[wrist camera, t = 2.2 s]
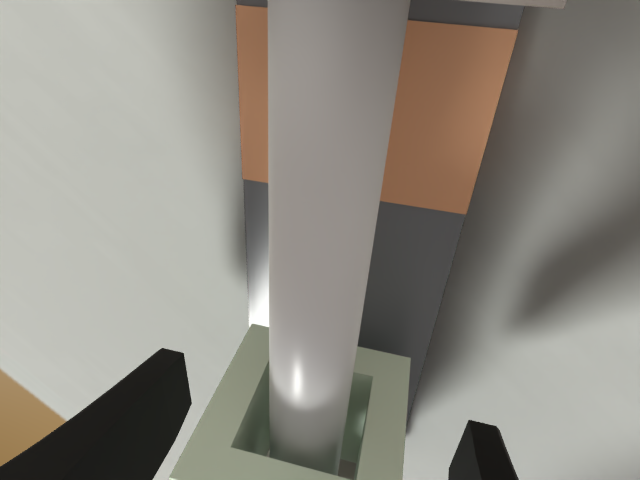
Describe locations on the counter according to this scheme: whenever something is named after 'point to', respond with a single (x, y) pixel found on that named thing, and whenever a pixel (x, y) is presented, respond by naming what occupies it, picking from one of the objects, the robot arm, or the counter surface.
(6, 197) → the counter surface
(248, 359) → the sleeve
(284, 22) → the rod with sliding collar
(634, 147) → the counter surface
